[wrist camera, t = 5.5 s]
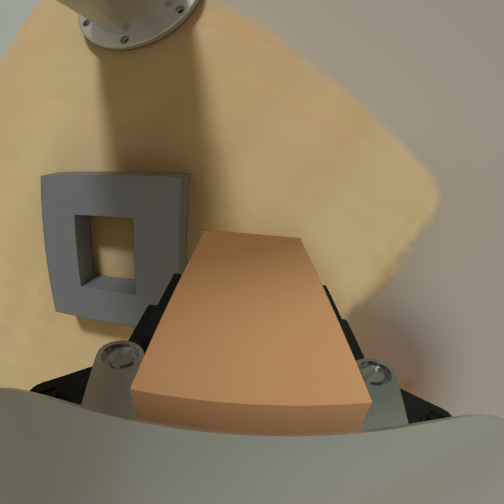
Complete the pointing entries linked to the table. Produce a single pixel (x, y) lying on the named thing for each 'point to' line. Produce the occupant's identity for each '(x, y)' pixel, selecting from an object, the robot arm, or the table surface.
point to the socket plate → (144, 232)
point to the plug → (250, 345)
